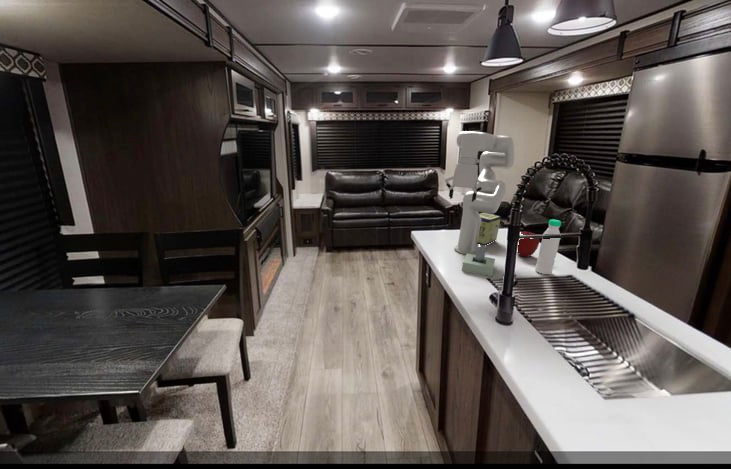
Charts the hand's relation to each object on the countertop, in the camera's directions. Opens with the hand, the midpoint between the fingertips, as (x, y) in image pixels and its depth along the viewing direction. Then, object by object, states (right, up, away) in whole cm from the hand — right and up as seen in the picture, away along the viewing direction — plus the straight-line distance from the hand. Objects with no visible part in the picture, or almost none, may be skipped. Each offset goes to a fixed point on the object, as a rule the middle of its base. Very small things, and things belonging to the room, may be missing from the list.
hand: (461, 199), depth 153 cm
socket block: (+8, -31, +3) cm, 33 cm away
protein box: (+24, -20, +43) cm, 53 cm away
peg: (+8, -31, +3) cm, 33 cm away
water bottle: (+39, -33, +4) cm, 51 cm away
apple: (+39, -27, +24) cm, 53 cm away
